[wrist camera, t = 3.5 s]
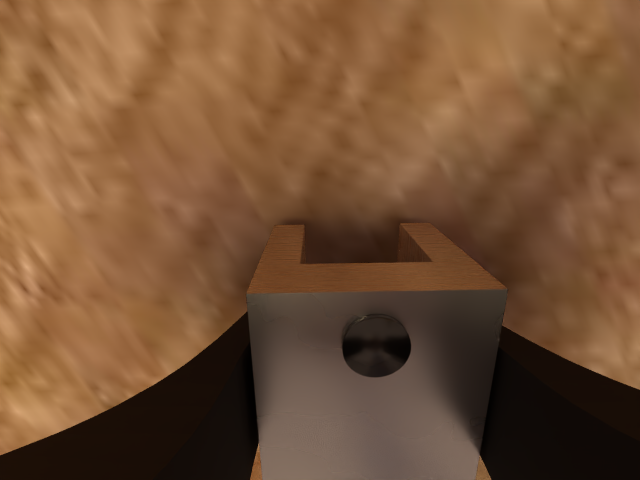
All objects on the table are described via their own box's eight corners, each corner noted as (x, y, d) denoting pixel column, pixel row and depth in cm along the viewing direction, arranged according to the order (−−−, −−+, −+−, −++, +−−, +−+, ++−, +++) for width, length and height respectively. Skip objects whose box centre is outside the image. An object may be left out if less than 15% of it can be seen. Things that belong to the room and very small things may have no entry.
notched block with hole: (429, 222, 12) (513, 293, 7) (416, 371, 13) (474, 512, 9) (274, 225, 12) (244, 298, 7) (282, 373, 13) (263, 516, 9)
